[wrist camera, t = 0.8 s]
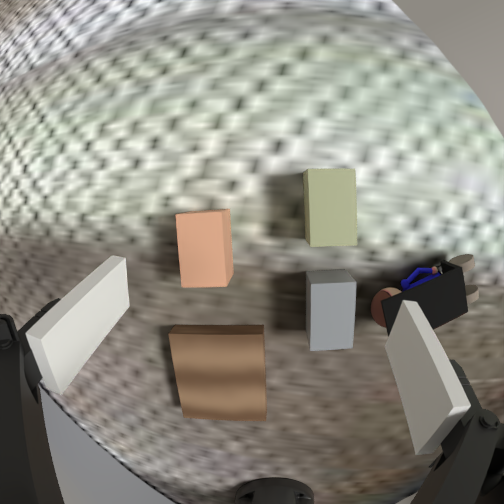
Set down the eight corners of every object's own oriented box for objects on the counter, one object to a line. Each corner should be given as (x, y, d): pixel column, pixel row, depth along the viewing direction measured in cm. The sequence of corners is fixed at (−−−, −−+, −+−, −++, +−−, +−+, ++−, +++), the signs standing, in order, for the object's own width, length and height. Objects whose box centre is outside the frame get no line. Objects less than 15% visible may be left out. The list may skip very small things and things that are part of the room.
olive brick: (345, 237, 38) (357, 245, 32) (305, 238, 39) (310, 246, 33) (343, 172, 37) (355, 168, 31) (302, 172, 37) (307, 169, 31)
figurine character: (449, 244, 39) (359, 286, 39) (483, 252, 31) (384, 303, 31) (456, 287, 40) (371, 331, 40) (488, 300, 32) (395, 354, 32)
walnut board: (266, 408, 43) (266, 420, 40) (188, 405, 44) (183, 417, 41) (263, 324, 41) (262, 334, 38) (175, 324, 42) (168, 333, 39)
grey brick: (343, 327, 40) (352, 348, 34) (305, 329, 41) (310, 350, 35) (344, 269, 39) (356, 281, 33) (305, 270, 39) (310, 284, 33)
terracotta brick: (233, 273, 40) (226, 286, 34) (194, 274, 40) (181, 287, 35) (229, 209, 39) (221, 211, 33) (190, 211, 39) (175, 214, 33)
